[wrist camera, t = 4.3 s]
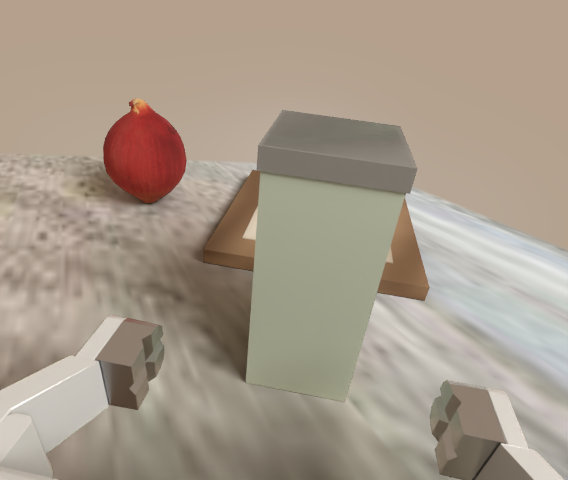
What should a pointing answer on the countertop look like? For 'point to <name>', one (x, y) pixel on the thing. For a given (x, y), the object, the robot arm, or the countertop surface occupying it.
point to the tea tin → (321, 246)
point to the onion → (144, 153)
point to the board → (242, 236)
